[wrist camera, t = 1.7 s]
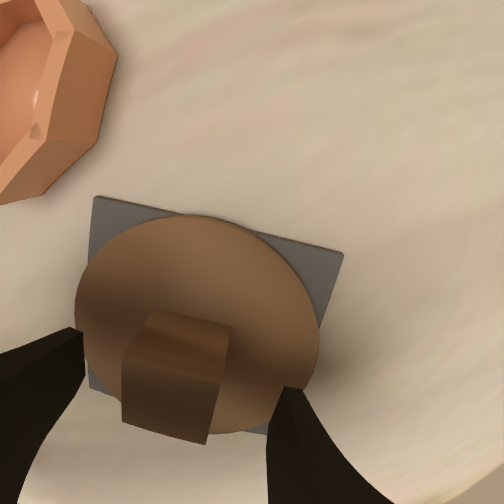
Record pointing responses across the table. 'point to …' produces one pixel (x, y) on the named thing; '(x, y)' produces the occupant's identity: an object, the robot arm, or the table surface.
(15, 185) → the bowl terracotta
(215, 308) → the lid
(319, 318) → the mat
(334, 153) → the table surface
